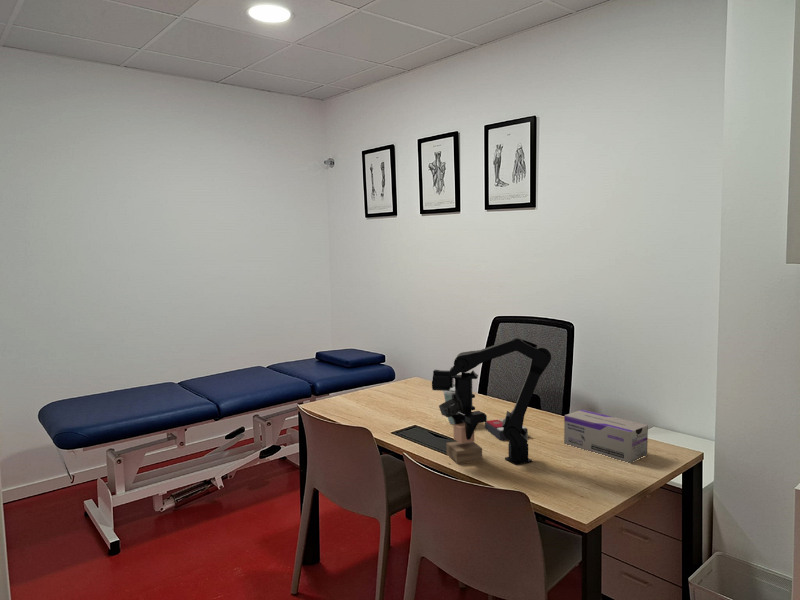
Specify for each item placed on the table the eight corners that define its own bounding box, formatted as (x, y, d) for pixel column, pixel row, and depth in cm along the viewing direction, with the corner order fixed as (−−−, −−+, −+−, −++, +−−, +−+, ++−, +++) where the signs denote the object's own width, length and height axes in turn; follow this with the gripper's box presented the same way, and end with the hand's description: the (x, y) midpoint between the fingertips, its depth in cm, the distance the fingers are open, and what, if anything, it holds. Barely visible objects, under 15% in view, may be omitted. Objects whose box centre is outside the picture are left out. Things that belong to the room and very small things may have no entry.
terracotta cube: (474, 441, 195) (474, 426, 194) (461, 443, 192) (461, 428, 192) (466, 436, 199) (466, 422, 199) (453, 439, 197) (453, 424, 196)
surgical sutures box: (564, 444, 208) (564, 415, 207) (581, 438, 214) (582, 409, 213) (629, 464, 188) (630, 432, 187) (647, 456, 195) (647, 425, 194)
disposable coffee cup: (474, 421, 236) (474, 384, 235) (463, 428, 227) (463, 390, 226) (450, 417, 242) (450, 381, 240) (438, 424, 233) (438, 387, 231)
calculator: (510, 417, 229) (527, 426, 215) (511, 428, 230) (528, 438, 215) (484, 419, 227) (499, 429, 212) (484, 431, 227) (500, 441, 212)
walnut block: (482, 461, 193) (482, 448, 193) (456, 464, 191) (456, 451, 190) (470, 452, 202) (470, 439, 201) (446, 455, 199) (446, 442, 199)
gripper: (428, 388, 199) (429, 433, 200) (457, 400, 182) (458, 449, 184) (456, 384, 204) (457, 428, 205) (487, 396, 187) (487, 443, 189)
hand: (464, 437), depth 196 cm, fingers closed on terracotta cube, 5 cm apart
